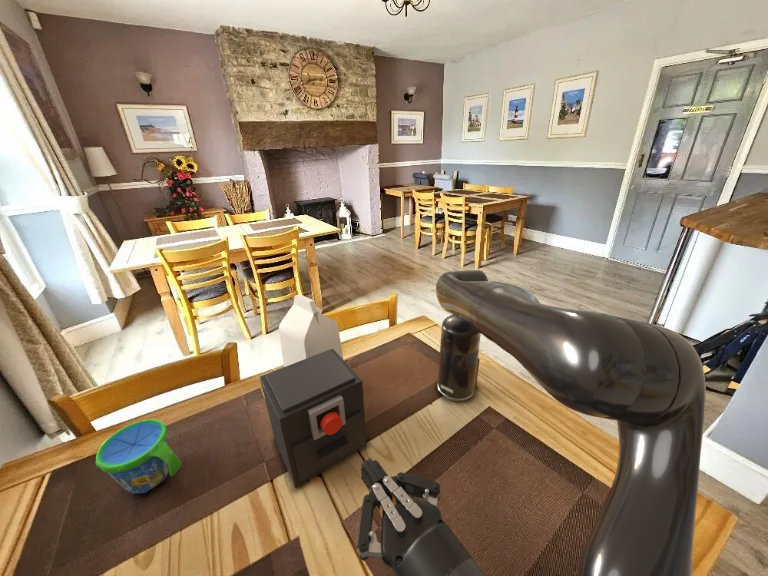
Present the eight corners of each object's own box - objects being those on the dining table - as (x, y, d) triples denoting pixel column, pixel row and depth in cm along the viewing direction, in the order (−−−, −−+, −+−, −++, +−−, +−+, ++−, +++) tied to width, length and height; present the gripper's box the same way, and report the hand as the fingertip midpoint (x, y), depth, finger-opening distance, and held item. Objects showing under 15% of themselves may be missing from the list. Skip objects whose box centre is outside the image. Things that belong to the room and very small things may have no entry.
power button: (339, 422, 58) (337, 408, 56) (343, 428, 56) (341, 414, 55) (321, 432, 56) (319, 417, 54) (325, 438, 55) (323, 423, 53)
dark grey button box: (339, 408, 77) (332, 345, 69) (373, 454, 65) (369, 385, 57) (274, 440, 69) (258, 374, 61) (300, 500, 57) (283, 427, 49)
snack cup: (202, 463, 64) (188, 428, 60) (154, 516, 55) (134, 479, 51) (147, 444, 69) (130, 410, 64) (94, 491, 59) (70, 455, 55)
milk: (286, 384, 85) (269, 299, 74) (319, 363, 93) (308, 284, 82) (313, 405, 78) (298, 315, 67) (346, 380, 86) (338, 296, 75)
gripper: (498, 530, 34) (401, 424, 47) (401, 628, 27) (320, 472, 40) (489, 566, 37) (401, 457, 50) (401, 662, 30) (326, 507, 43)
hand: (365, 464), depth 45 cm, fingers closed
